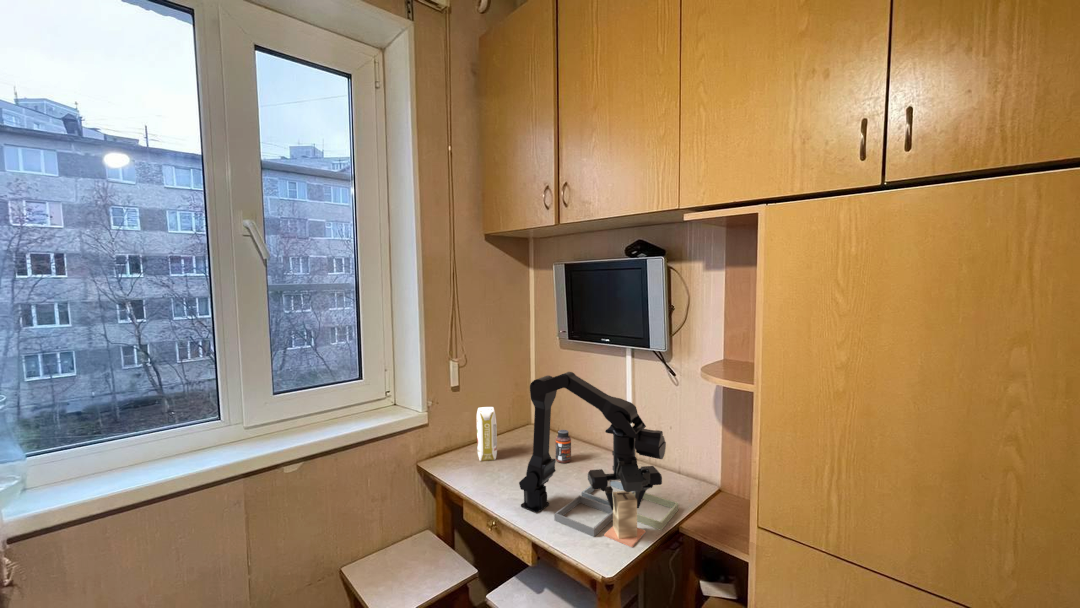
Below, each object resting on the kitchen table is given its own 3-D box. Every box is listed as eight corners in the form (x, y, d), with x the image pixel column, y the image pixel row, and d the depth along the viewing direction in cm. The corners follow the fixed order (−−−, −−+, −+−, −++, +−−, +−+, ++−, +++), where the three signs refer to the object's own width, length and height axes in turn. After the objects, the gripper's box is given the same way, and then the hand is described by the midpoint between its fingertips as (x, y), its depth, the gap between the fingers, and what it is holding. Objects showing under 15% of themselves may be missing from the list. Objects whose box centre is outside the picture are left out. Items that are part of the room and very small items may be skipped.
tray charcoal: (554, 520, 118) (554, 513, 118) (579, 501, 128) (579, 495, 128) (594, 536, 110) (593, 529, 110) (617, 515, 120) (617, 508, 120)
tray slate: (581, 498, 130) (581, 492, 130) (602, 482, 140) (602, 476, 140) (619, 511, 122) (618, 505, 122) (638, 493, 132) (638, 487, 132)
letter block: (618, 538, 108) (618, 500, 108) (613, 527, 113) (612, 491, 113) (637, 537, 109) (636, 499, 108) (630, 526, 114) (630, 490, 113)
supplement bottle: (562, 465, 155) (561, 435, 154) (552, 459, 159) (552, 430, 159) (574, 460, 158) (574, 431, 158) (564, 455, 163) (564, 427, 163)
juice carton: (496, 452, 168) (495, 405, 167) (497, 460, 160) (496, 411, 159) (477, 453, 167) (476, 406, 166) (477, 462, 158) (476, 413, 158)
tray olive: (618, 514, 121) (618, 507, 120) (637, 496, 131) (637, 490, 131) (661, 530, 112) (661, 522, 112) (678, 509, 123) (678, 502, 123)
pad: (604, 536, 110) (604, 534, 110) (618, 522, 117) (618, 520, 117) (632, 547, 105) (632, 545, 105) (645, 532, 112) (645, 530, 112)
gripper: (597, 466, 101) (598, 528, 102) (670, 461, 103) (671, 522, 104) (587, 448, 112) (587, 505, 113) (653, 444, 114) (653, 500, 115)
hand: (624, 508), depth 111 cm, fingers open, 7 cm apart
